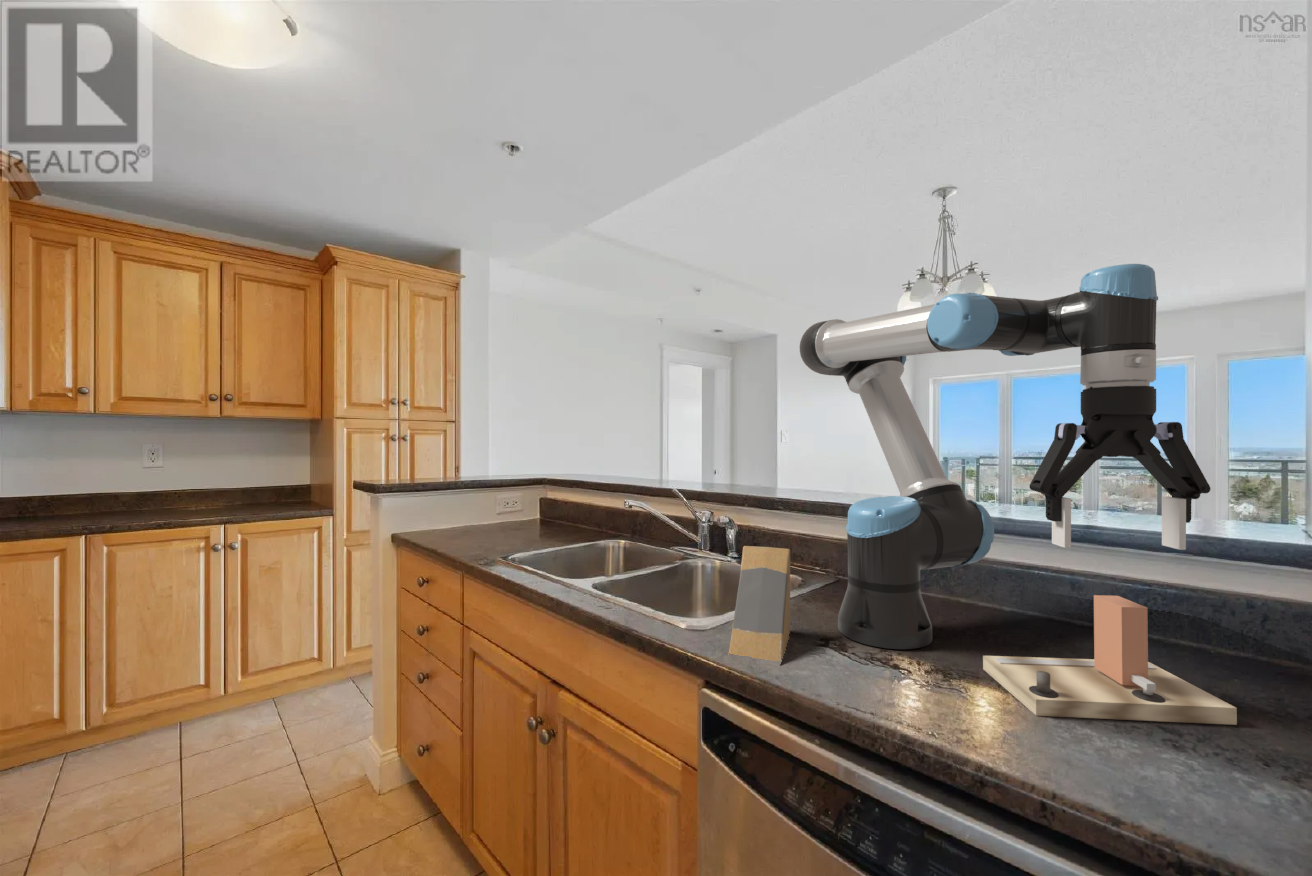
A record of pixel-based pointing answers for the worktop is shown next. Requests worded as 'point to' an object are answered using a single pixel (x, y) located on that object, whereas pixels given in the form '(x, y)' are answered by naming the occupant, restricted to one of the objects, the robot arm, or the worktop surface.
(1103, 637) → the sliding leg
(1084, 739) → the worktop surface
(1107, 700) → the board
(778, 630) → the sandwich container
